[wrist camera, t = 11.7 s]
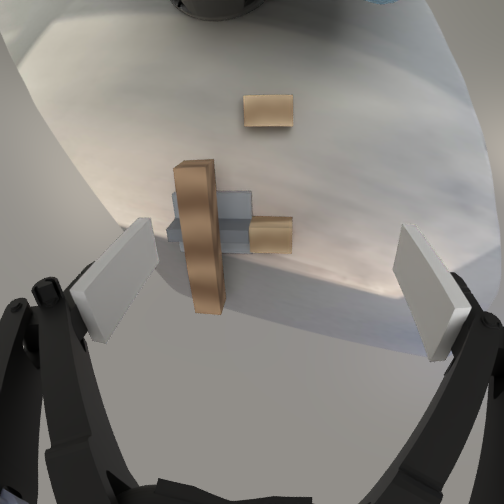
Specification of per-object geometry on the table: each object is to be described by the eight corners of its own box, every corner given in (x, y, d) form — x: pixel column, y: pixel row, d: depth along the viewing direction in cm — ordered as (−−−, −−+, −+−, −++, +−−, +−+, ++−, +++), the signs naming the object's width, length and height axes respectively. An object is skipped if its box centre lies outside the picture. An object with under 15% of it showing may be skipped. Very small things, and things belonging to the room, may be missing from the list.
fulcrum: (174, 192, 45) (162, 203, 41) (251, 191, 44) (246, 203, 40) (182, 248, 50) (172, 264, 46) (253, 250, 49) (249, 267, 45)
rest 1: (247, 95, 37) (243, 95, 34) (292, 94, 36) (292, 95, 33) (248, 123, 39) (244, 126, 36) (292, 123, 38) (293, 126, 35)
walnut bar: (184, 160, 38) (173, 168, 34) (213, 159, 37) (205, 167, 34) (201, 296, 49) (195, 312, 45) (226, 298, 48) (221, 315, 45)
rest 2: (252, 216, 46) (248, 227, 43) (292, 217, 45) (292, 228, 42) (253, 239, 48) (250, 252, 45) (291, 240, 47) (291, 253, 44)
